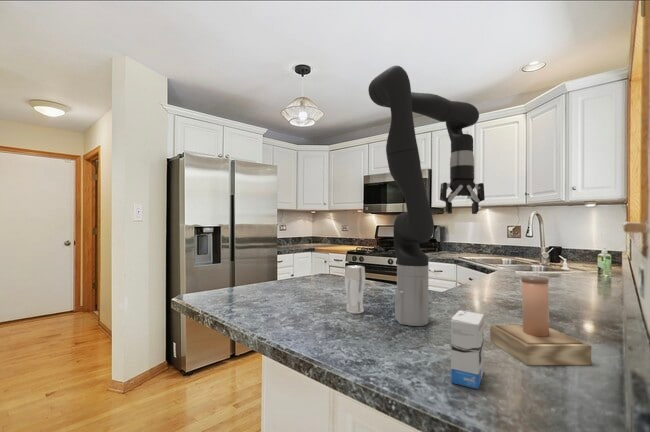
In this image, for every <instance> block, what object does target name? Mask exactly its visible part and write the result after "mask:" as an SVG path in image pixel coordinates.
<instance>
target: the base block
mask: <svg viewBox="0 0 650 432" xmlns="http://www.w3.org/2000/svg"><path fill="white" fill-rule="evenodd" d="M489 327H490V328H489V333H490V334H489V337H490V338H489V341H490V342H491V343H492V344H494V345H496V346H497V347H499V348H500V349H501V350H503V351H504V352H506V353H507V354H509V355H510V356H513V358H515V359H517V360H518V361H519V362H521V363H523V364H524V365H526V366H592V345H590V344H588V343H586V342H584V341H581V340H579V339H577V338H574V337H572V336H570V335H568V334H565V333H563V332H561V331H559V330H557V329H554V328H552V327H550V326H549V334H550V335H549V336H547V337H540V336H533V335H529V334H526V333H524V332H523V324H490V325H489Z"/></svg>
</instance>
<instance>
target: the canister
mask: <svg viewBox="0 0 650 432" xmlns="http://www.w3.org/2000/svg"><path fill="white" fill-rule="evenodd" d="M520 278H521V279H520V280H521V300H522V301H521V302H522V304H521V307H522V308H521V309H522V313H521V314H522V325H523V332H524V333H526V334H529V335H533V336H540V337H547V336H549V335H550V334H549V327H550V306H549V305H550V304H549V300H550V299H549V282H550V278H548V277H544V276H538V275H537V276H535V275H523V276H520Z"/></svg>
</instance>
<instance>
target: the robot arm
mask: <svg viewBox="0 0 650 432" xmlns="http://www.w3.org/2000/svg"><path fill="white" fill-rule="evenodd" d="M411 86H412V85H411V80H410V78H409V75H408V73H407V71H406V70H405V68H403V67H402V66H400V65H393V66H389V67H388V68H386V69H385V70H384V71H382V72H381V73H379V74H378V75H376V77H375V78H373V79H372V80H371V82H370V83H369V85H368V95H369V99H370V100H371V101H372V102H373V103H374V104H375V105H377V106H380V107H384V108H390V117H391V118H390V119H391V120H390V125H389V130H388V135H387V140H386V144H385V153H386V159H387V165H388V171H389V173H390V175H391V177H392V178H393V181H394V182H395V183H396V185H397V187H398V188H399V190H400V191H401V193H402V196H403V198H404V200H405V201H404V202H405V205H406V211H404V212H401V213H399V214H398V215H397V216H396V218H395V220H394V222H393V248H394V256H395V258H396V287H395V289H394V319H395V320H396V322H398V324H399V325H405V326H412V327H423V326H427V325H428V324H429V319H430V318H429V317H430V314H429V257H428V255H427V254H426V253H424V251H422V249H421V247H420V244H421V243H427V242H429V241H430V240H431V239H432V237H433V235H434V230H435V224H434V222H435V221H434V218H433V215H432V211H431V208H430V204H429V200H428V196H427V192H426V187H425V182H424V177H423V172H422V166H421V165H422V164H421V158H420V154H419V153H420V152H419V151H420V150H419V145H418V142H417V137H416V130H415V123H414V115H413V113H414V114H418V115H422V116H425V117H428V118H430V119H433V120H436V121H438V122H442V123H445V126H446V130H447V132H448V137H449V140H450V158H449V175H450V176H449V180H450V181H449V182H448V183H447V182H442V183H441V184H440V191H439V192H440V193H439V200H440V201H442V202H444V203H445V212H446V213H447V214H449V215H452V214H453V202H452V201H453V200H454V199H455V197H461V196H462V197H467V198H469V199H470V201H471V202H472V203H471V214H472V215H477V214H478V213H479V203H480V202H483V201H486V200H485V185H484V184H485V183H483V182H480V183H476V182H475V155H474V137H473V136H472V134H470V133H469V134H468V133H463V129H465V128H469V127H471V126H474V125H475V124H476V123H477V122H478V121H479V117H480V112H479V110H478V108H477V107H476V106H475V105H474V104H472V103H470V102H463V101H456V100H455V101H454V100H450V99H448V98H446V97H443V96H442V95H441V96H440V95H438V94H434V93H429V92H427V93H424V92H415V91H412V87H411ZM448 189H450V190H451V191H449V194H448V195H447V193H448ZM474 189H475V190H476V192H475V191H474Z"/></svg>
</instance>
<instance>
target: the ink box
mask: <svg viewBox="0 0 650 432" xmlns="http://www.w3.org/2000/svg"><path fill="white" fill-rule="evenodd" d="M484 316H485V315H484V314H483V313H479V312H478V313H477V312H473V311H466V310H458V311H456V313H455V314H454V315H453V316H452V317H451V322H450V327H451V328H450V338H451V340H450V341H451V343H450V346H451V347H450V350H451V351H450V353H451V354H450V358H451V359H450V362H451V363H450V383H451V384H455V385H458V386H463V387H466V388H470V389H474V390H479V388H480V385H481V382H482V379H483V375H484V355H485V354H484V353H485V352H484V351H485V350H484V348H485V347H484V346H485V345H484V319H485V318H484Z"/></svg>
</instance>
